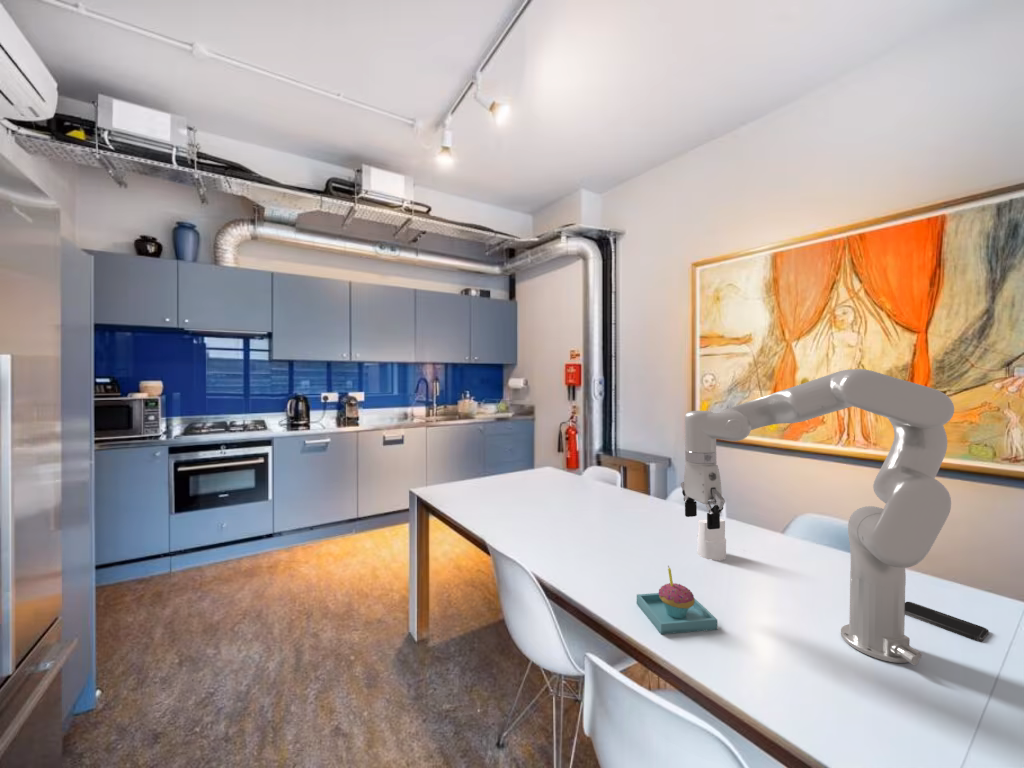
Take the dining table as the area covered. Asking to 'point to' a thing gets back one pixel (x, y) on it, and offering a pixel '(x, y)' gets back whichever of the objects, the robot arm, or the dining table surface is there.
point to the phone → (946, 622)
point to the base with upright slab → (711, 541)
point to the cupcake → (676, 598)
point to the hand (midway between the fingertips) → (701, 522)
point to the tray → (666, 624)
